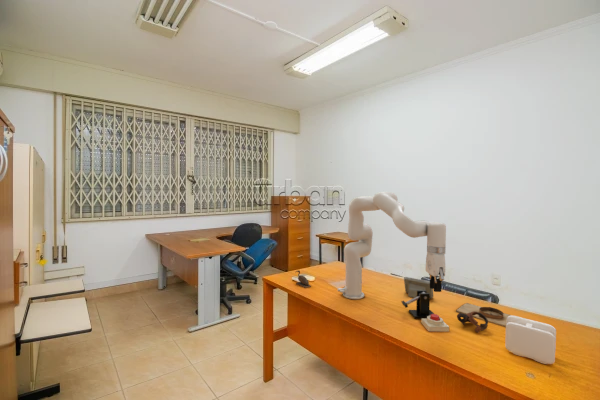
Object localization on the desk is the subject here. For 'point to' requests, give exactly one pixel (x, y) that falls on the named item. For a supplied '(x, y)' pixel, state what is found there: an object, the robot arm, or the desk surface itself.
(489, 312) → the board
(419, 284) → the digital clock
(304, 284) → the figurine
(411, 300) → the lever
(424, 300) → the bracket
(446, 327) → the control block
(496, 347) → the desk surface
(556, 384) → the desk surface
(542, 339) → the cable organizer
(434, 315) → the button
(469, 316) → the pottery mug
